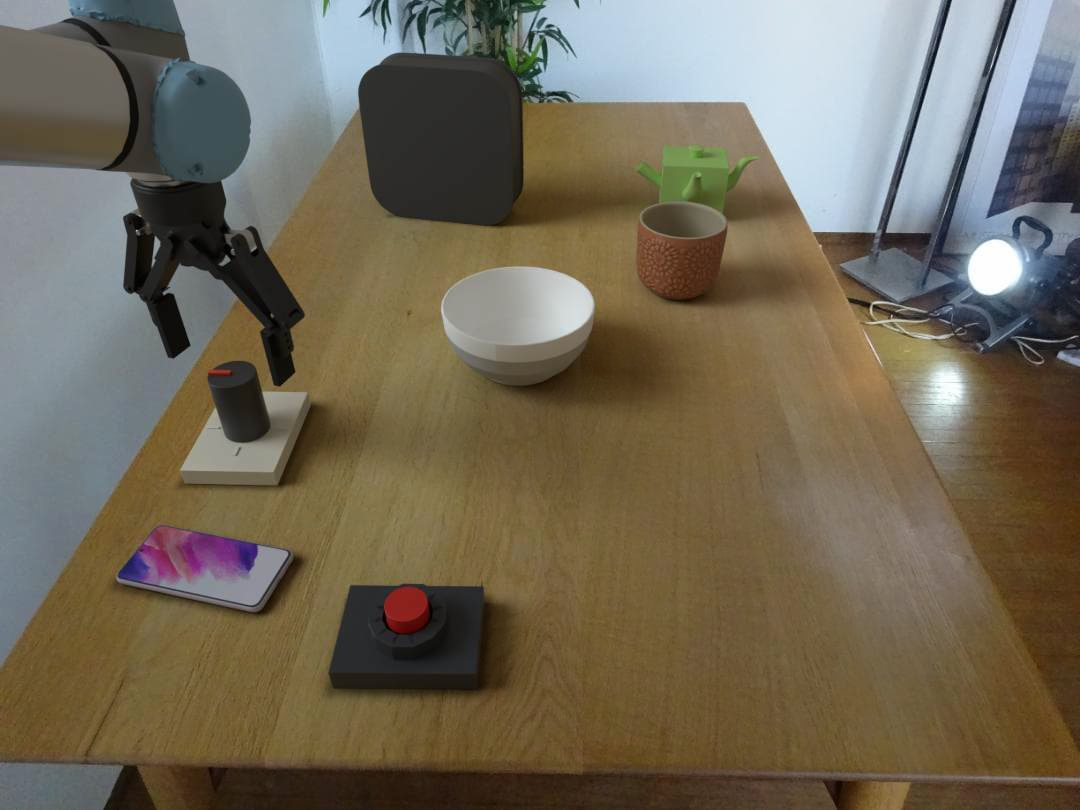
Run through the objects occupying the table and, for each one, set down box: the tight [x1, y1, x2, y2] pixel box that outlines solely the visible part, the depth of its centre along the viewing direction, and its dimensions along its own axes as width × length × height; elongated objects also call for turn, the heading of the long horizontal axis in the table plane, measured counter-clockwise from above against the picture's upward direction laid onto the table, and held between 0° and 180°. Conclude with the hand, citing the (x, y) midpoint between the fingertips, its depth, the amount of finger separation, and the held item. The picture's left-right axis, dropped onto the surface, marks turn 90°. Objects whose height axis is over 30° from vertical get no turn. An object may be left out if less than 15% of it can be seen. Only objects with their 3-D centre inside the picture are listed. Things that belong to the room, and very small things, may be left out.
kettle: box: [635, 144, 760, 215], centre depth 137 cm, size 15×14×11 cm
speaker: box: [357, 52, 525, 226], centre depth 133 cm, size 25×9×25 cm, turn 77°
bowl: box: [440, 266, 596, 387], centre depth 101 cm, size 19×19×9 cm
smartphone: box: [115, 524, 294, 613], centre depth 76 cm, size 7×1×15 cm
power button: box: [384, 587, 430, 634], centre depth 67 cm, size 4×4×2 cm
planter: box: [635, 201, 729, 301], centre depth 116 cm, size 12×12×11 cm
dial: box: [206, 360, 271, 443], centre depth 88 cm, size 5×5×8 cm
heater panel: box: [179, 390, 312, 487], centre depth 91 cm, size 14×10×2 cm
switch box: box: [328, 583, 486, 690], centre depth 69 cm, size 12×9×4 cm
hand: (231, 365), depth 85 cm, fingers open, 13 cm apart
